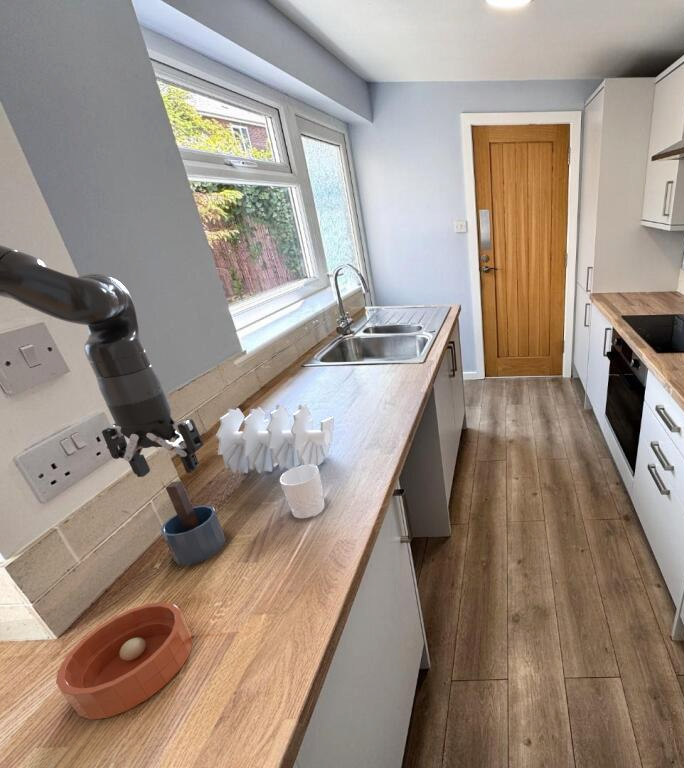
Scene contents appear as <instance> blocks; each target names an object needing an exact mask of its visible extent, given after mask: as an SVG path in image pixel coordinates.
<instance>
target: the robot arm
mask: <svg viewBox="0 0 684 768" xmlns="http://www.w3.org/2000/svg"><path fill="white" fill-rule="evenodd" d="M0 297H2V298H5V299H10V300H14V301H16V302H18V303H20V304H22V305H24V306H26V307H28V308H31V309H33V310H35V311H38V312H40V313H42V314H45V315H47V316H49V317H51V318H55V319H57V320H60V321H63V322H67V323H71V324H75V325H81V326H82V325H83V326H86V329H87V333H88V337H87V340H86V341H85V343H84V346H83V350H84V353H85V356H86V358H87V360H88V363H89V365H90V367H91V369H92V371H93V374H94V376H95V379H96V380H97V385H98V387H99V391H100V394H101V396H102V398H103V401H104V402H105V404H106V407H107V409H108V411H109V413H110V415H111V417H112V419H113V421H114V423H113V424H111V425H109V426H108V427H106V428H104V429H103V430H102V431H101V434H102V437H103V439H104V441H105V444H106V446H107V449H108V451H109V453H110V456H111V458H113V459H114V460H118V459H123V460H124V461H126V462H128V464H129V466H130V468H131V470H132V472H133V473H134V474H135V475H136V476H137V478H144V477H146V476H147V475H148V474H149V473H150V472H151V468H150V465H149V464H148V462H147V459H146V458H145V455H144V454H141V453H142V451H143V449H149V448H152V447H153V448H162V447H163V448H164V449H166V450H167V451H173V452H174V453H175V454H177V455H179V456H180V457H179V458H180V461H181V463H182V465H183V468H184V470H185V472H186V474H193V473H194V472H195V471H196V470H197V469H198V466H200V465H199V464H200V462H199V460H198V458H197V455H196V452H197V451H199V450H200V449H201V448H202V447H203V446H204V445H205V444H204V443H205V442H204V441H203V438H202V437H201V435H200V432H199V430H198V428H197V425H196V423H195V421H194V419H192V418H191V417H188V418H186V419H185V420H183V421H175V420H174V419H173V418H172V416H171V413H172V411H171V410H172V409H171V407H170V404H169V402H168V399H167V396H166V394H165V392H164V389H163V387H162V384H161V381H160V379H159V376H158V374H157V373H156V371H155V370H154V368H153V366H152V364H151V362H150V359H149V357H148V354H147V352H146V350H145V346H144V344H143V343H142V341H141V337H140V327H139V322H138V316H137V311H136V307H135V303H134V301H133V297H132V295H131V294H130V292H129V291H128V289H127V288H126V287H125V286H124V285H123V284H122V283H121V282H120V281H119V280H117V279H116V278H114V277H112V276H109V275H106V274H100V273H90V274H85V275H81V276H73V275H69V274H67V273H63V272H60V271H58V270H55V269H52V268H50V267H47V265H46V264H45V262H43V261H42V260H41V259H39V258H37V257H35V256H33V255H30V254H29V253H25V252H23V251H20V250H16V249H13V248H10V247H7V246H5V245H1V244H0ZM126 438H127V439H128V441H127V439H126ZM173 439H174V441H173V442H172V440H173Z"/></svg>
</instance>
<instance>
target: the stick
mask: <svg viewBox="0 0 684 768" xmlns="http://www.w3.org/2000/svg"><path fill="white" fill-rule="evenodd" d="M165 490H166V493H167V495H168V497H169V498H170V501H171V504H172V506H173V508H174V510H175V512H176V513H175V514H177V515H178V517H179V520H180V522H181V524H182V526H183V529H184V531H185V532H187V531H190V530H192V529H194V528H196V527H198V526H200V525H199V522H198V520H197V517H196V515H195V513H194V510H193V508H192V507H193V506H192V504H191V500H190V499H189V496H188V493H187V491H186V489H185V486H184V484H183V482H182V480H180V481H171V482H169V484H168V485H167V486H166V487H165Z"/></svg>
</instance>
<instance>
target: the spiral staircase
mask: <svg viewBox="0 0 684 768" xmlns="http://www.w3.org/2000/svg"><path fill="white" fill-rule="evenodd" d="M311 415H312V414H311V411H310V409H309V407H308V405H307V404H303V405H302V404H299V405H298V410H296V411H295V412H294V413H292V416H293V423H292V425H291V417H290V413H289V411H288V410H287V408H286V406H285V405H284V406H282V405H279V404H276V408H275V409H274V410H273V411H272V412H270V413H269V416H270V417H269V418H270V419H269V418H267V419H266V416H267V414H266V413H265V412H264V411H263V408H261V407H260V406H257V408H250V409H249V414H248V415H247V416H245V415H244V413H243V412H242V410H241V409H240V408H239V407H236V408H234V409H233V408H227V413H226V414H224V415H223V416H221V417H220V418H219V422H220V426H219V428H218V430H217V432H216V433H215V435H214V436H215V437H216V439H217V440H218V448H217V455H219V456H220V455H221V456H222V460H223V462H224V463H223V464H224V467H225V468H224V469H226V470H228V469H230V470H231V472H232V474H236V473H237V471H238V472H241V473H244V474H248V473H249V470H252V471H253V470H256V471H257V473H258V474H261V473H262V471H264V472H270V473H271V472H273V469H274V468H276V467H277V466H278V468H279V470H283V468H285V469H286V470H287V471H288V470H289V469H291V468H294V467H297V466H300V465H315V466H317V467H318V466H320V465H321V464H322V463H324V462H325V459H326V458H327V456H328V454H329V452H330V449H331V446H332V443H333V437H334V431H335V422H334V421H335V420H334V416H330V417H328V418H326V419H323V420H322V421H320V430H319V429H318V430H316V429H315V430H314V429H313V428H314V427H313V424H314V423H313V418H311ZM310 418H311V419H310ZM242 423H243V425H244V428H243V430H242V431H239V430H240V428H241V425H242ZM291 426H292V427H291Z"/></svg>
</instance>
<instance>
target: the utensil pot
mask: <svg viewBox="0 0 684 768" xmlns="http://www.w3.org/2000/svg"><path fill="white" fill-rule="evenodd" d="M192 508H193V510H194V513H195V515H196V517H197V520H198V522H199V525H200V526H198V527H196V528H194V529H192V530H190V531H187V532H185V531H184V529H183V526H182V524H181V522H180V520H179V517H178V515H177V513H175V514H174V515H172V516H171V517H170V518H168V519H167V520H166V521H165V522H164V523H163V524H162V527H161V529H160V531H161V534H162V537H163V539H164V541H165V543H166V545H167V547H168V549H169V551H170V553H171V556H172V558H173V560H174V562H175V563H176V564H178V565H182V566H189V565H195V564H198V563H201V562H203V561H206V560H208V559H209V558H211V557H212V556H214V555H216V554H217V553H218V552H220V550H221V549H222V548H223V547H224V545H225V543H226V541H227V537H226V535H225V533H224V530H223V527H222V525H221V523H220V520H219V517H218V515H217V512H216V510H215V508H214V507H213V506H211V505H198V506H192Z"/></svg>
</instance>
